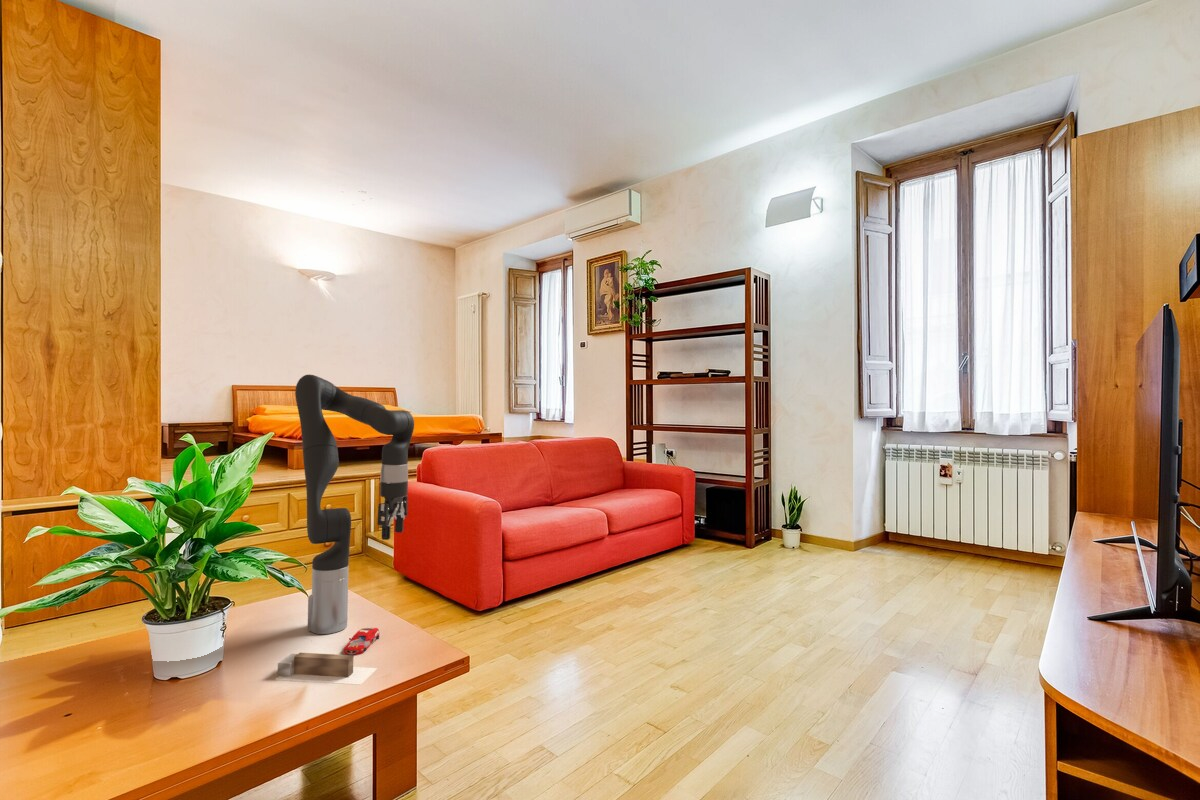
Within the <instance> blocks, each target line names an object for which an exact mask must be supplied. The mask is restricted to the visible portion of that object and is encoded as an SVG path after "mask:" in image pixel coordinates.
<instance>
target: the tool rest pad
mask: <svg viewBox="0 0 1200 800" xmlns="http://www.w3.org/2000/svg"><path fill="white" fill-rule="evenodd" d="M377 669H378V668H377V667H362V666H353V673H352V674H351V675H350V676H349V677H335V676H317V675H300V674H293V675H292V676H291V677H282V676H277V677H276V678H275V679H274V680H275V681H277V680H278V681H290V682H292V681H293V682H310V683H311V682H312V683H324V684H343V685H359V686H360V685H362V684H363V683H364V682H365V681H366V680H367V679H368V678H370V676H371V675H372V674H373V673H374V672H375V671H376V670H377Z"/></svg>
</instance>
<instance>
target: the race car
mask: <svg viewBox="0 0 1200 800" xmlns="http://www.w3.org/2000/svg"><path fill="white" fill-rule="evenodd" d="M379 639H380V630H379V628H378V627H364V628H361V629H359V630H357V632H355V634H353V636H352V637H351V638H348V640H349V641H348V642H347V644H346V645H345V646H344V648H343V650H342V654H343V655H353V656H358V655H362V654H363V655H364V653H365V652H366V651H367V650H368V649H369V648H370V647H371V646H372V645H373V644H374V643H375V642H376V641H377V640H379Z"/></svg>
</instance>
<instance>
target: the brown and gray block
mask: <svg viewBox="0 0 1200 800" xmlns="http://www.w3.org/2000/svg"><path fill="white" fill-rule="evenodd" d="M353 667H354V655H346V654H332V653H314V652H313V653H312V652H299V653H290V654H288V655H287V656H285V658H283V659H281V660H280V661H279V662H277V677H279V676H282V677H291V676H292V675H293V674H300V675H317V676H335V677H349V676H350V675H351V674H352V673H353Z"/></svg>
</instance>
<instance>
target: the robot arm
mask: <svg viewBox="0 0 1200 800" xmlns="http://www.w3.org/2000/svg"><path fill="white" fill-rule="evenodd" d="M294 390H295V392H294V395H295V402H296V407H297V410H298V411H297V412H298V416H299V421H300V431H301V441H302V459H303V469H304V477H305V487H306V489H305V490H306V531H307V538H308V540H309V542H310V543H311V544H312V545H320V544H327V543H334V544H333V545H332V546H330V547H329V548H328V549H327V550H324V551H323V552H320V553H319V554H317V555H315V556H314V557H313V559H312V563H311V564H312V567H311V569H312V570H311V571H312V572H311V578H312V579H311V594H310V595H308V597H307V604H308V605H307V629H306V630H307V632H311V633H314V634H317V635H327V634H328V635H329V634H334V633H338V632H340V631H343V630H344V629H346V628H347V627H348V618H349V617H348V612H349V611H348V610H349V609H348V608H349V607H348V606H349V605H348V603H349V566H350V564H349V563H350V562H349V561H350V546H351V545H350V543H351V532H352V516H351V512H350V510H349V509H348V508H346V507H338V508H336V507H335V508H324V509H322V508H321V502H322V498H323V496H324V493H325V491H326V489H327V488H328V486H329V484H330V482H331V480H333V478H334V476H335V474H336V473H337V471H338V468H339V465H340V459H339V450H338V444H337V441H336V438H335V436H334V434H333V432H332V430H331V428H330V427H329V425H328V422H327V421H326V420H325V417H324V413H323V411H329V412H336V413H340V414H343V415H345V416H347V417H349V418H350V419H352V420H354V421H356V422H360V423H362V424H365V425H368V426H369V427H371V428H372V429H374V430H375V431H376V432H378V433H379V434H382V435H386V436H391V440H390V441H389V442H388V443H386V444H384V445H383V446H382V450H381V467H380V481H379V482H380V483H379V496H380V497H382V498H383V499H384V502H383V503H378V509H377V523H376V524H377V526H380V527H381V539H382V540H387V541H388V540H390V539H391V529H392V528H391V525H392V521H393V520H395V523H394V526H395V527H394V531H395V533H398V534H399V533H403V532H404V523H405V522H404V521H405V519H406V517H407V516H408V505H409V504H408V502H409V501H408V500H409V499H408V493H409V492H408V491H409V490H408V489H409V467H408V461H409V459H408V458H409V456H408V455H409V447H410V443H411V440H412V438H413V433H414V431H415V420H414V416H413V414H411V413H410V412H409V411H407V410H401V409H399V410H390V409H386V407H385V406H384V405H383V404H381V403H379V402H376V401H374V400H370V399H367V398H365V397H361V396H355V395H352V394H349V393H347V392H346V391H344V390H342V389H341V388H339V387H338V386H336V385H335V384H333V382H330V381H329V380H326V379H324V378H322V377H321V376H318V375H315V374H305V375H303V376H301V377H300V378H299V380H298V381H297V383H296V385H295V389H294Z"/></svg>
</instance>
